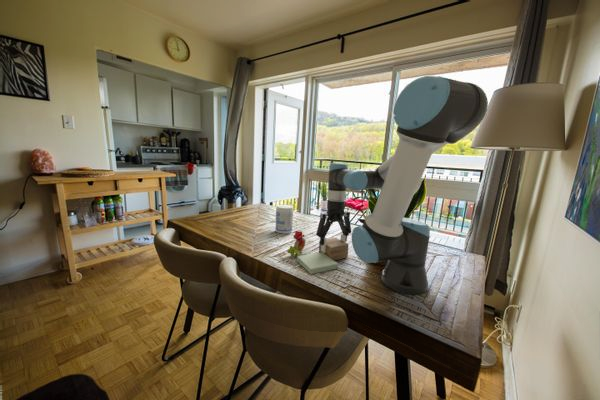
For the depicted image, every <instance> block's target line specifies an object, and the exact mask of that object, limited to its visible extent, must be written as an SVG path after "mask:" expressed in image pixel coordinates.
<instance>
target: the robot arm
mask: <svg viewBox="0 0 600 400" xmlns="http://www.w3.org/2000/svg"><path fill="white" fill-rule="evenodd" d="M488 106H489V102H488V97H487V94H486V93H485V91H484V89H483V88H481V87H480V86H479V85H477V84H475V83H473V82H467V81H465V82H464V81H461V80H456V79H452V78H448V77H444V76H435V75H422V76H418V77H415V78H414V79H413V80H411V82H409V83H408V84H406V85H405V86H404V87H403V88H402V90H401V91H400V93H399V94H398V96H397V97H396V100H395V102H394V106H393V112H392V113H393V115H394V116H393V120H394V122H395V124H396V125H397V128H396V131H395V132H396V134H397V135H398V137H399V140H398V143H397V146H396V149H395V151H394V153H393V154H392V155H391V156H390V157H389V158H387V159H386V160H385V161H383V163H381V164H380V165H379V166H378V167H377V168H375V169H352V168H349V166H348V164H347V163H346V162H345V163H343V162H342V163H341V162H331V163H330V164H329V167H328V180H327V181H328V183H327V185H328V186H327V202H326V209H327V211H326V212H325V213H322V212H320V215H319V217H320V218H319V222H318V227H317V230H316V233H315V234H316V235H315V236H317V237H318V238H319V241H320V244H321V251H322V252H323V253H326V240H327V239H328V238H327V237H326V236H327V234H328V232H329V230H330V228H331V226H332V225H333V223H336V222H338V225H339V227H340V230H341V232H342V233H341V234H340V240H341V241H343V242H345V243H347V241H348V236H349V235H350V234H351V243H352V247H353V251H354V253H355V255H356V257H357V258H358V259H359V260H361V262H363V263H366V264H369V263H370V264H372V263H374V264H376V263H380V262H381V263H382V262H385V261H387V262H386V263H385V266H384V268H383V270H382V273H381V281H382V284H384V285H385V286H386V287H388V288H390V289H391V290H393V291H396V292H397V293H398V292H399V293H401V294H406V295H423V294H424V293H427V291H428V288H429V280H428V276H427V270H426V261H427V254H428V247H429V243H430V242H429V241H430V238H431V233H430V231H431V228H430V225H428V224H427V223H425V222H422V221H420V220H417V219H413V218H408V217H405V216H406V213H407V211H408V208H409V207H410V204H411V202H412V200H413V197H414V195H415V193H416V190H417V188H418V187H419V184H420V181H421V179H422V177H423V175H424V173H425V171H426V168H427V166H428V164H429V162H430V159H431V157H432V155H434V153H436V152H438V151H439V150H441V149H442V148H443V147H445V146H446V145H449V144H450V145H453V144H456V143H457V142H459V141H461V139H463V138H465V137H467V136H468V135H469V134H470V133H471V132H473V131H474V130H475V129H476V128H477V127H478V126H479V125H480V124H481V123H482V121H483V120H484V118H485V116H486V114H487V111H488ZM376 189H377V190H380V192H379V194H378V198H377V200H376V203H375V205H374V209H373V211H372V213H369V214H368V215H366V216H365V218H364V221H363V224H362V225H358V226H356V227H354V228H353V230H352V228H351V226H352V225H351V220H350V219H351V218H350V216H351V213H350V211H346V210H345V207H346V201H345V200H346V197H347V190H350V191H352V192H353V191H356V192H359V191H361V190H376Z"/></svg>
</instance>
